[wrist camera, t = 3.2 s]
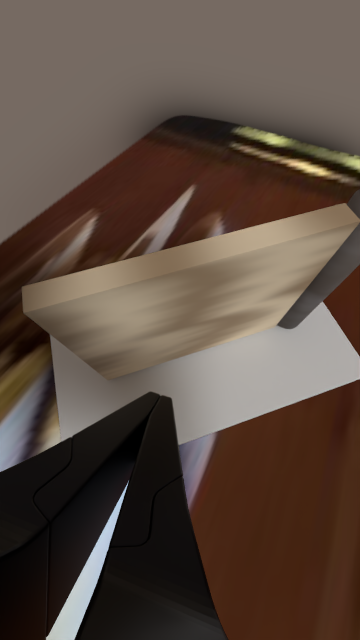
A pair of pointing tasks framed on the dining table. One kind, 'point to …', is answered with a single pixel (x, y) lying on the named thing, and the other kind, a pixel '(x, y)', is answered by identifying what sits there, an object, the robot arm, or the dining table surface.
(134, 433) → the robot arm
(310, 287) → the door
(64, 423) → the board
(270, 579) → the dining table surface
